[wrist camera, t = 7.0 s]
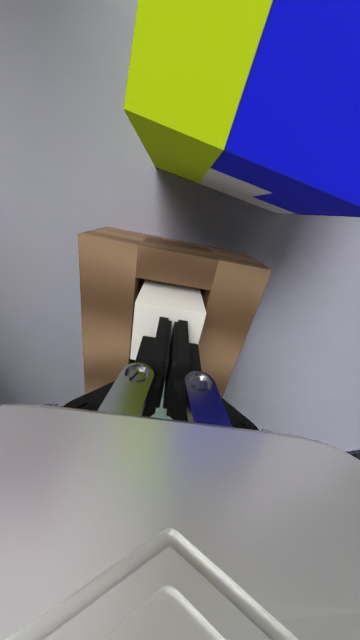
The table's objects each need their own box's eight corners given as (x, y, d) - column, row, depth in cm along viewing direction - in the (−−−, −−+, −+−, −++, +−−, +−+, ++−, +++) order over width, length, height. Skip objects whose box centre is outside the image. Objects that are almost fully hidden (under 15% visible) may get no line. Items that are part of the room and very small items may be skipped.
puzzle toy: (276, 213, 17) (387, 218, 8) (155, 167, 15) (123, 108, 6) (363, 30, 12) (854, -444, 3) (203, -61, 11) (324, -1353, 2)
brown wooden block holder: (106, 226, 17) (77, 233, 12) (246, 253, 18) (272, 270, 13) (104, 407, 27) (88, 450, 22) (193, 417, 28) (196, 461, 23)
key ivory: (147, 275, 16) (135, 301, 11) (198, 284, 16) (206, 313, 12) (142, 321, 18) (130, 359, 13) (188, 328, 18) (191, 367, 13)
